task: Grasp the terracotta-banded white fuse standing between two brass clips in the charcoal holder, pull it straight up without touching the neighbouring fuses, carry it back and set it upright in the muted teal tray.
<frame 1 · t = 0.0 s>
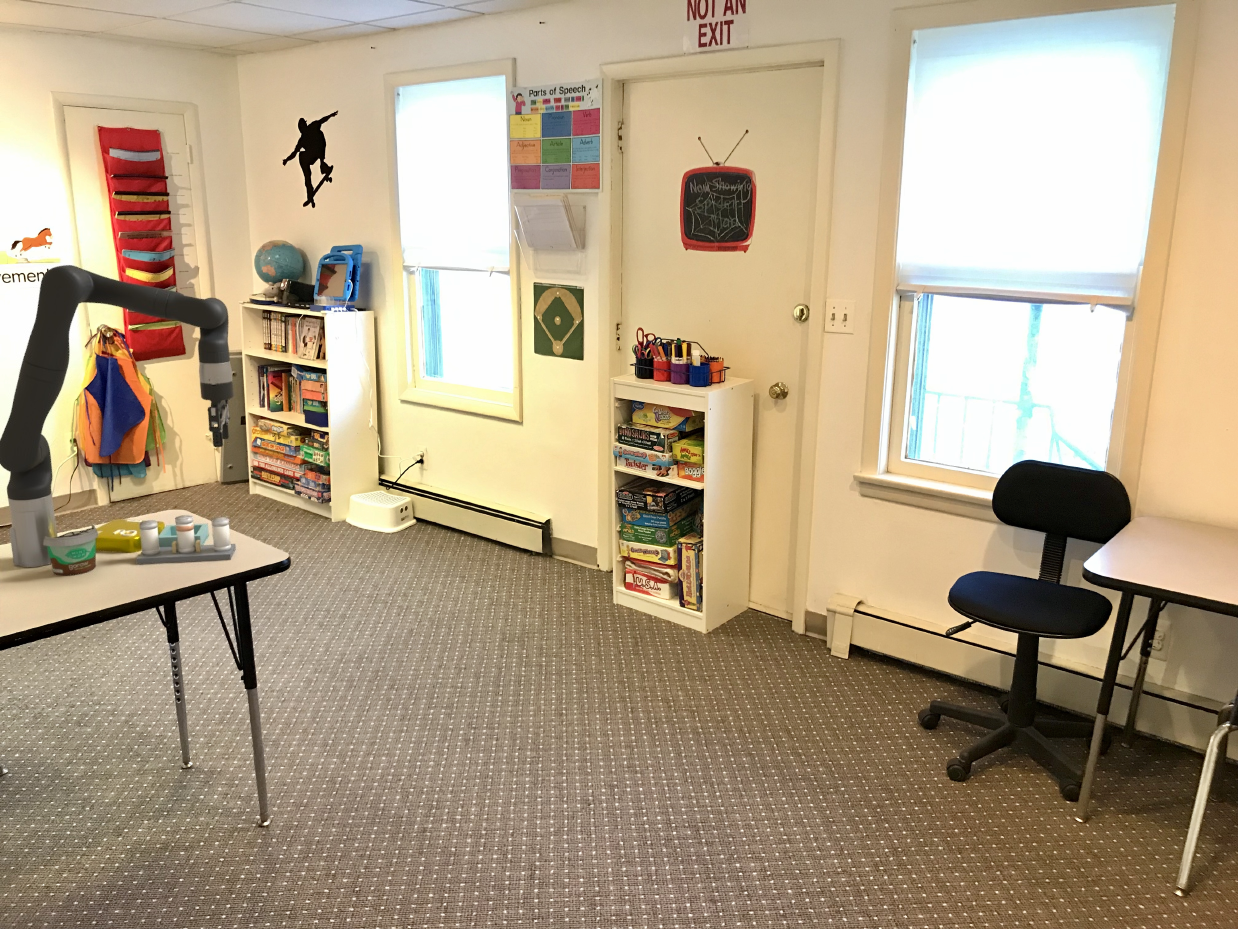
hand: (221, 442, 237), 29 cm above the table, fingers open, 8 cm apart
food container: (80, 572, 229), on the table
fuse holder: (187, 556, 240), on the table
element tile: (126, 544, 250), on the table
tray: (184, 542, 250), on the table
marked fuse: (187, 551, 240), point 1 cm above the table, touching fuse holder
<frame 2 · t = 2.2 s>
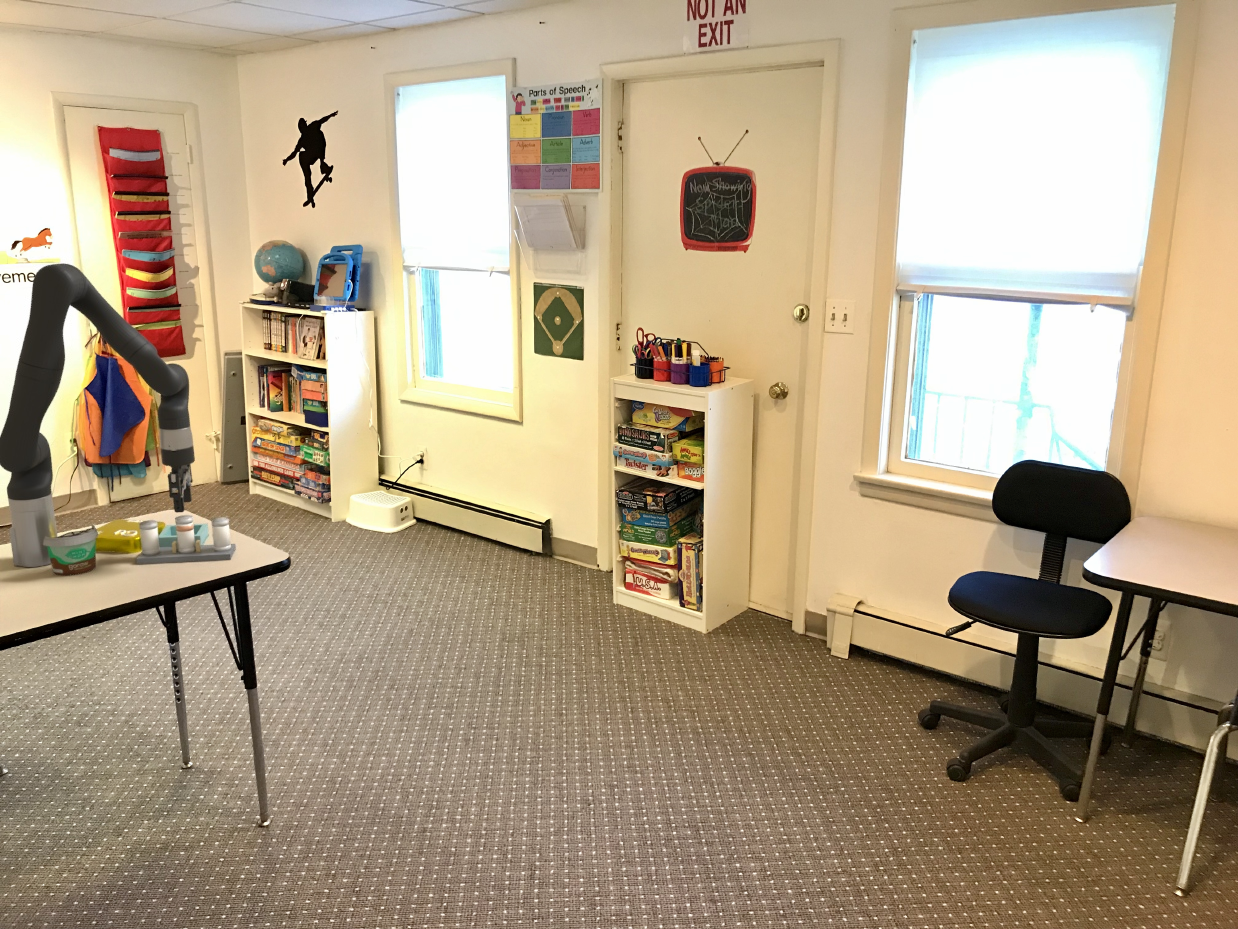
hand: (183, 506, 237), 13 cm above the table, fingers open, 8 cm apart
nothing on the table moved.
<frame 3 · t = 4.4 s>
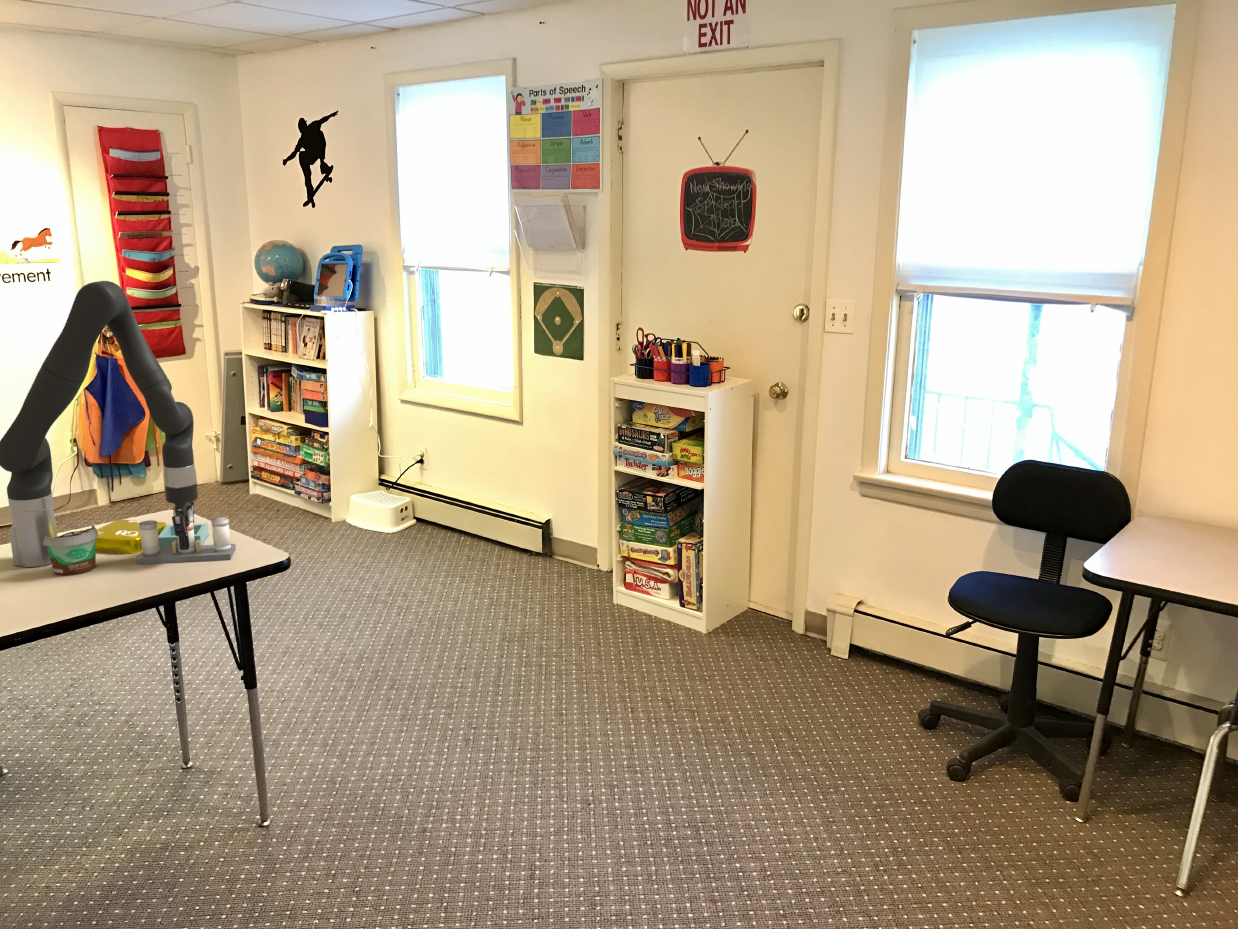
hand: (186, 546, 240), 3 cm above the table, fingers closed on marked fuse, 4 cm apart
marked fuse: (187, 551, 240), point 1 cm above the table, touching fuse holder, gripper
everything else where it was.
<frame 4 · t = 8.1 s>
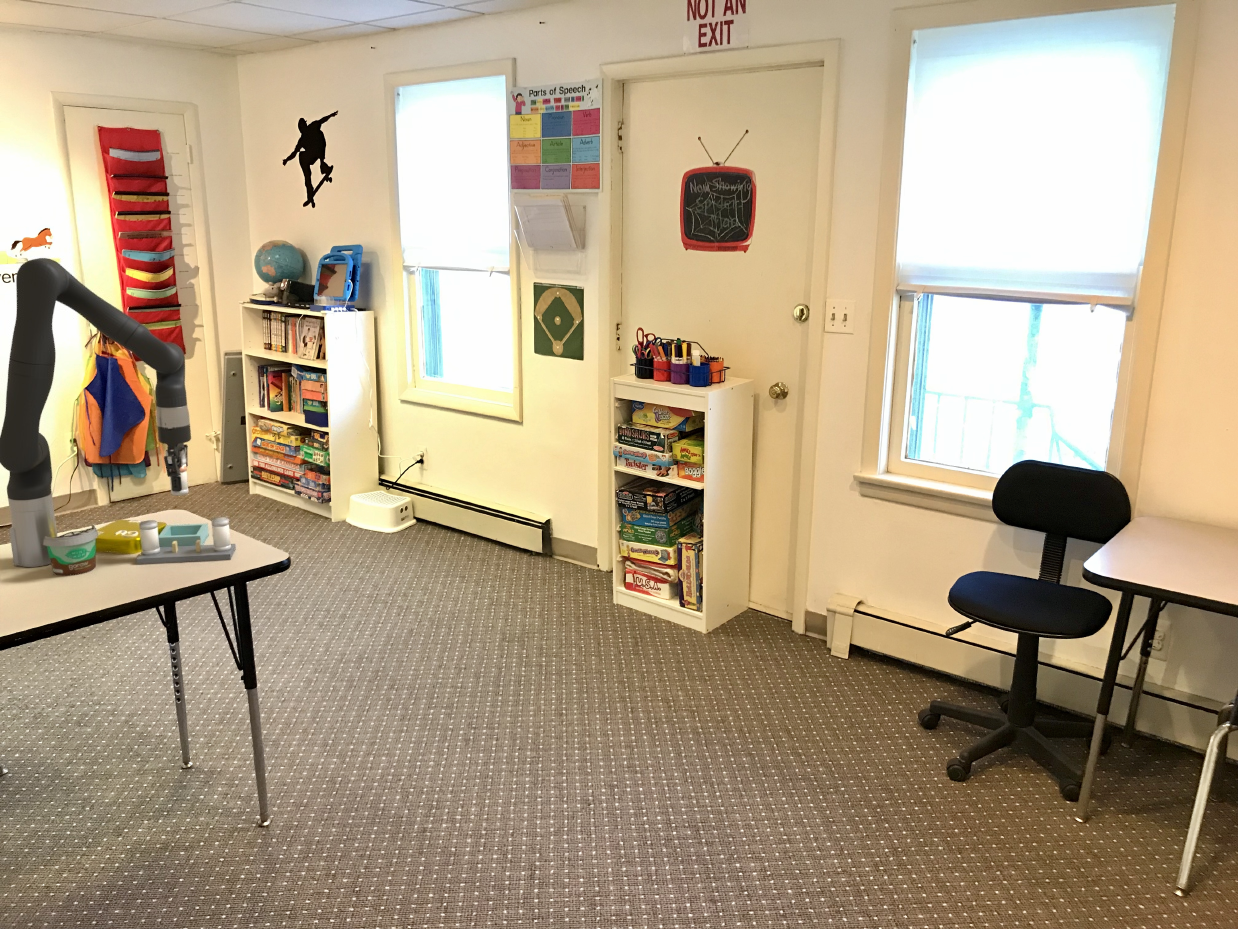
hand: (179, 488, 240), 17 cm above the table, fingers closed on marked fuse, 4 cm apart
marked fuse: (179, 493, 240), point 16 cm above the table, touching gripper
everything else where it was.
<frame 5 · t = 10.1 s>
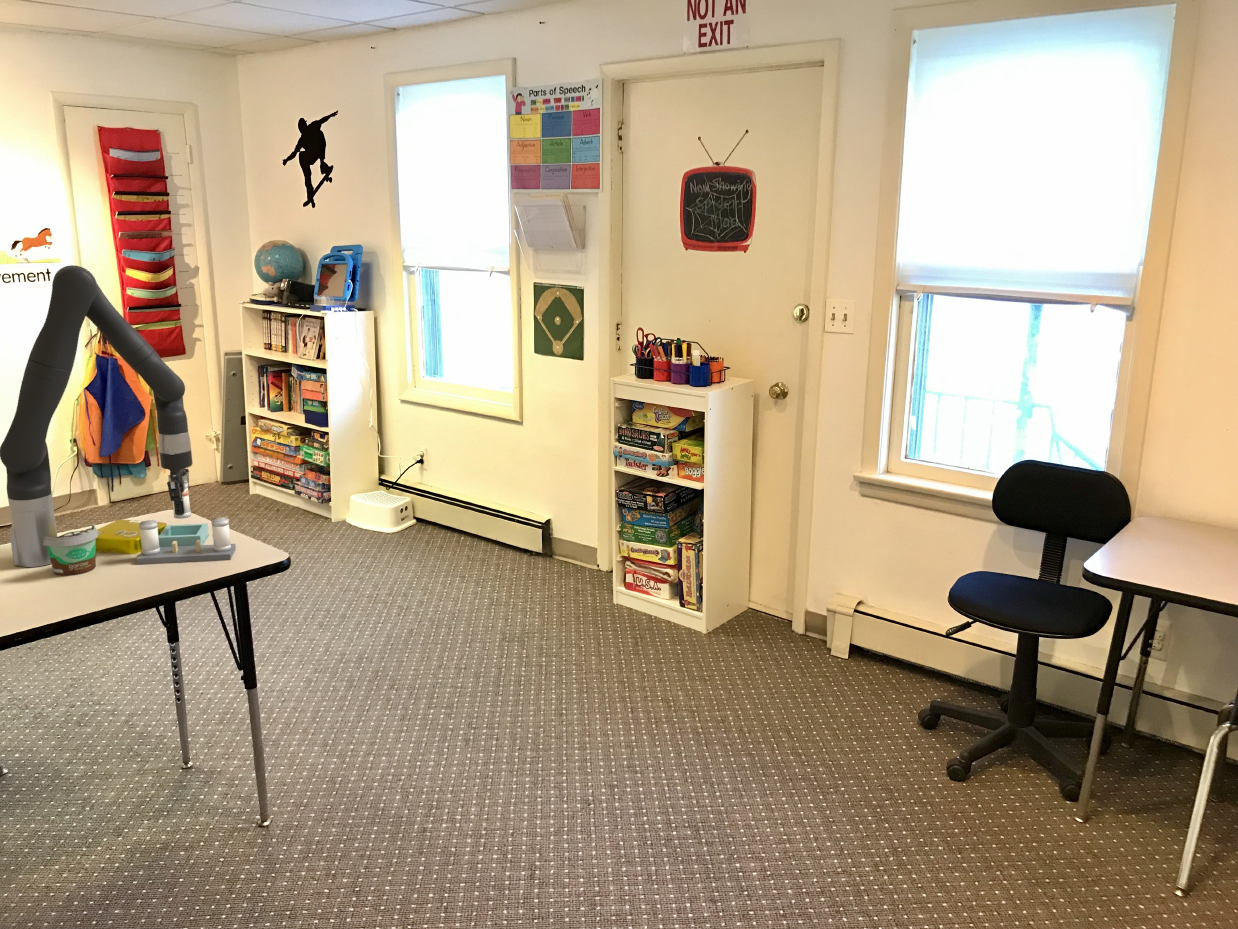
hand: (181, 511, 248), 9 cm above the table, fingers closed on marked fuse, 4 cm apart
marked fuse: (182, 516, 248), point 7 cm above the table, touching gripper
when the fingers open (4 cm above the table, at t = 11.8 s): marked fuse drops 2 cm, resting on tray.
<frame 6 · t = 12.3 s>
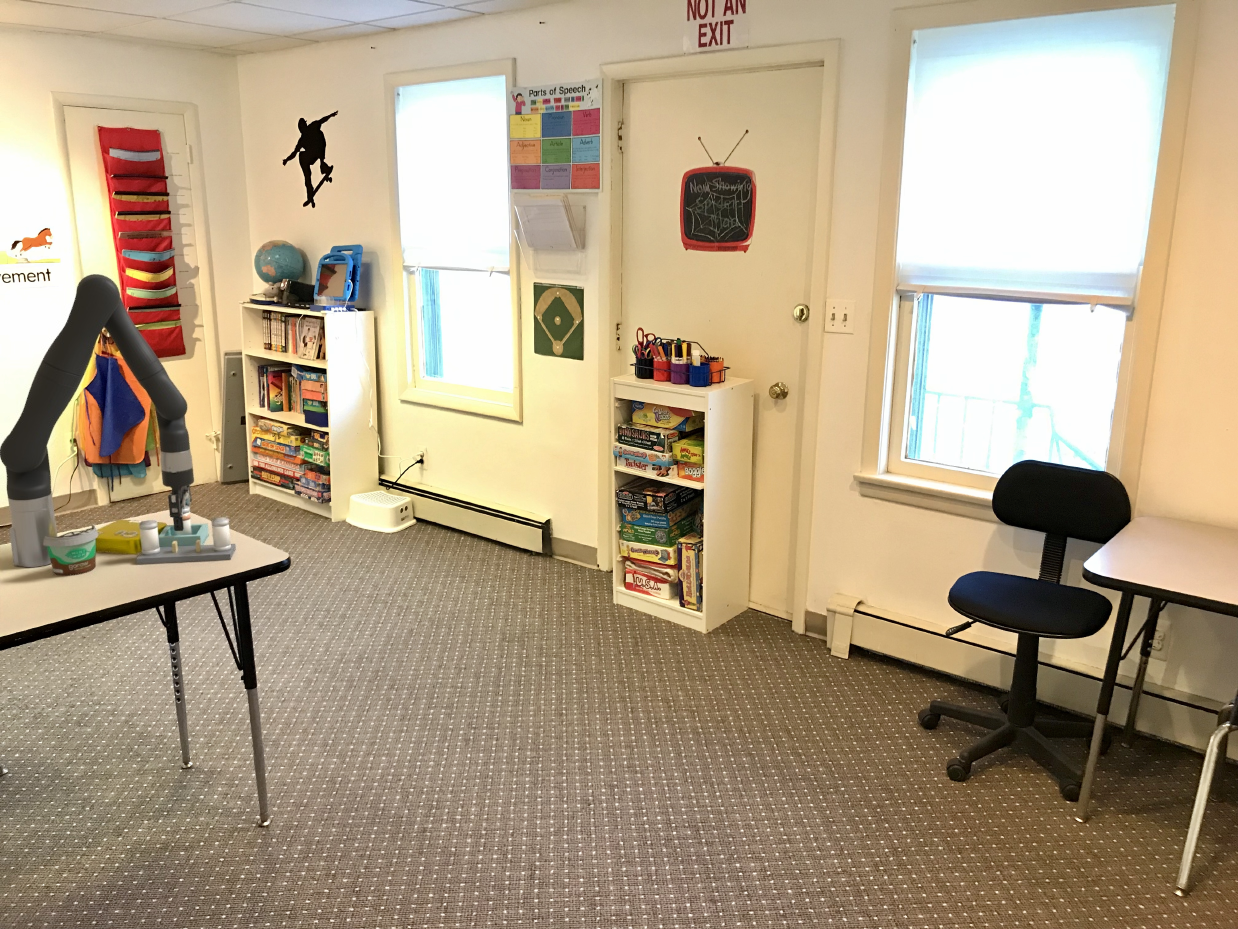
hand: (182, 525, 249), 5 cm above the table, fingers open, 8 cm apart
marked fuse: (184, 540, 250), point 1 cm above the table, touching tray
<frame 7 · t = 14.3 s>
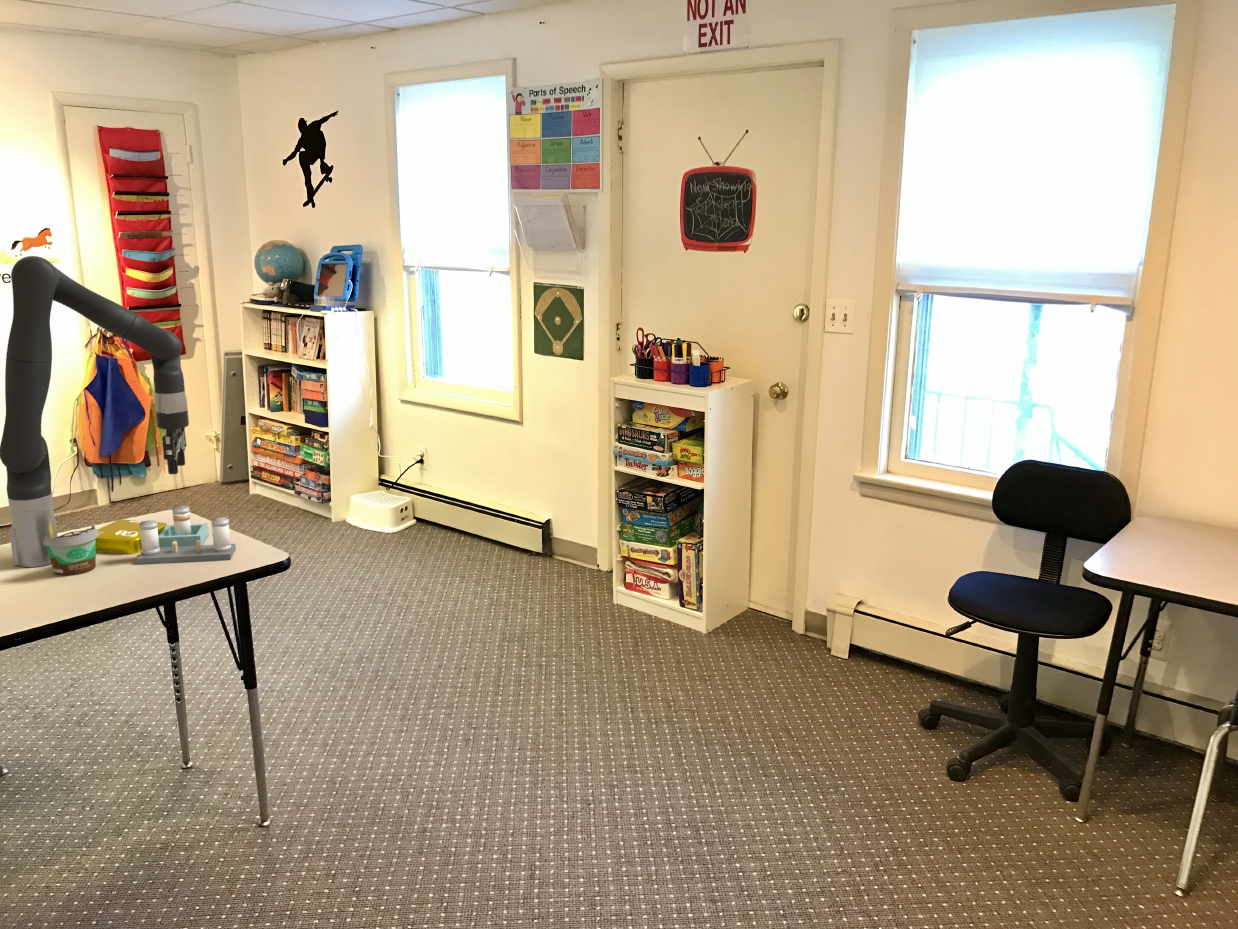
hand: (177, 469, 245), 20 cm above the table, fingers open, 8 cm apart
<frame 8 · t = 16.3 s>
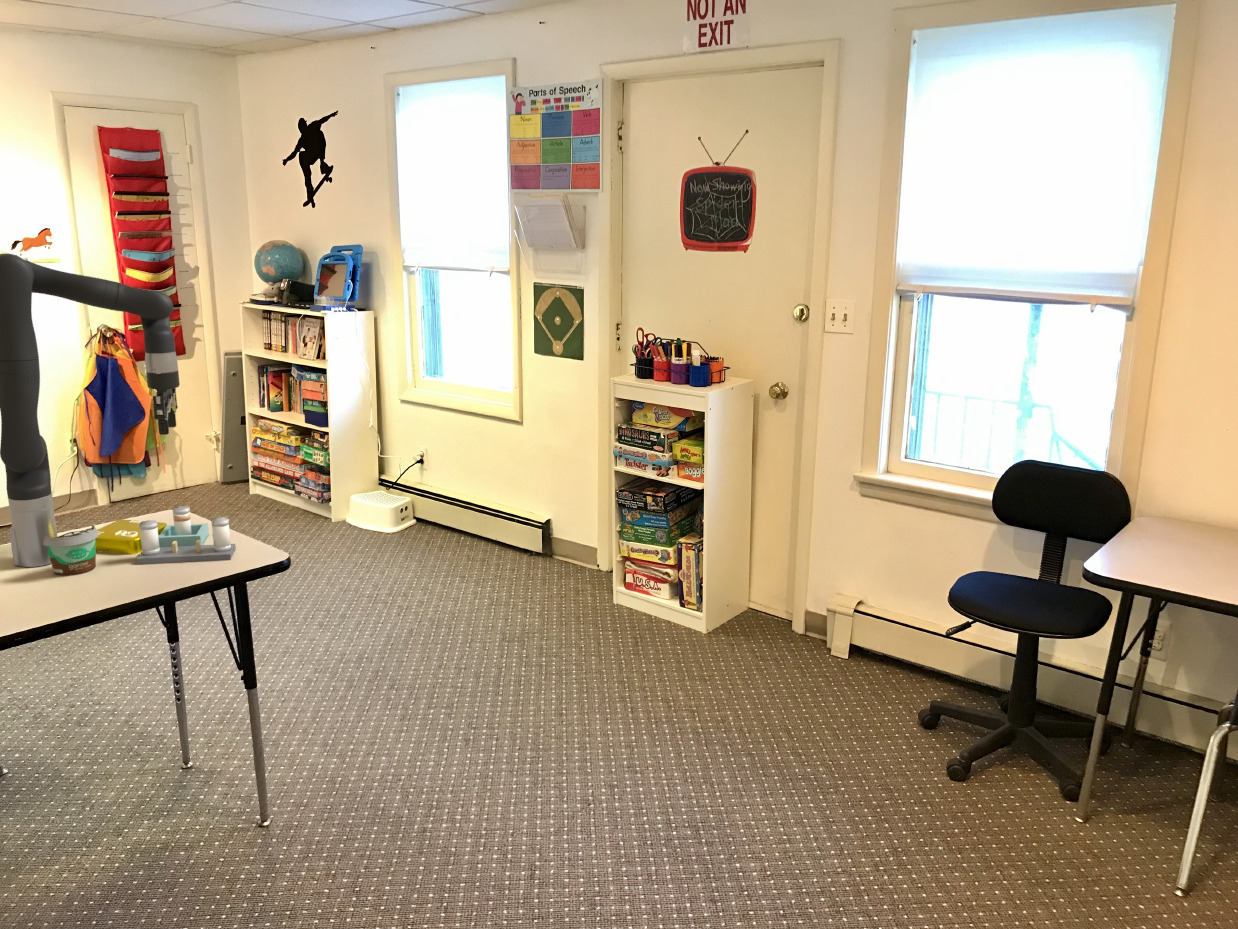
hand: (168, 430, 245), 30 cm above the table, fingers open, 8 cm apart
at the end: marked fuse 0.1 cm off-centre on the tray, point 0.8 cm above the tray's base; marked fuse tilted 1°; the gripper is holding nothing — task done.
